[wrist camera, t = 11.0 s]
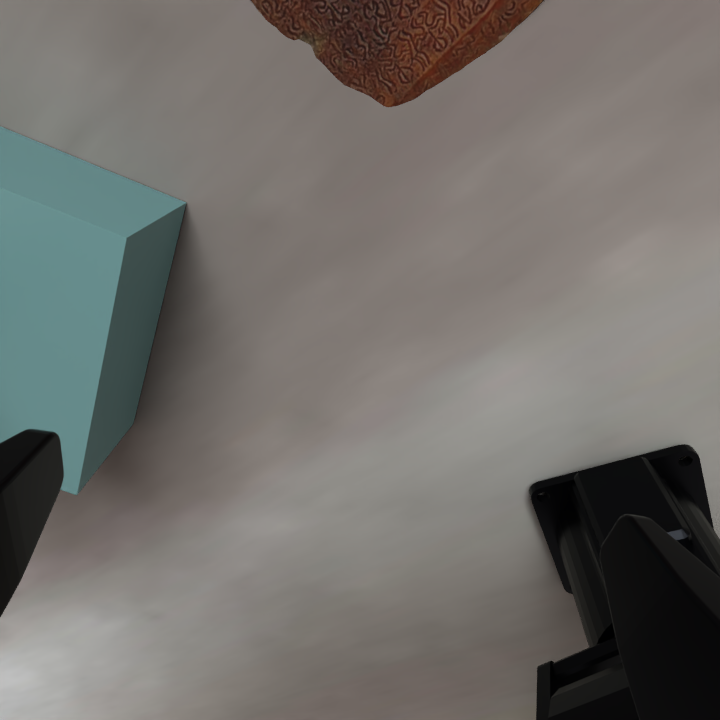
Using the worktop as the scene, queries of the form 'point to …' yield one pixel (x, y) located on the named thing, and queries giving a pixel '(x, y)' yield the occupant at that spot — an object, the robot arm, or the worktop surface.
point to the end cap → (77, 298)
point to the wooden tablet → (396, 38)
